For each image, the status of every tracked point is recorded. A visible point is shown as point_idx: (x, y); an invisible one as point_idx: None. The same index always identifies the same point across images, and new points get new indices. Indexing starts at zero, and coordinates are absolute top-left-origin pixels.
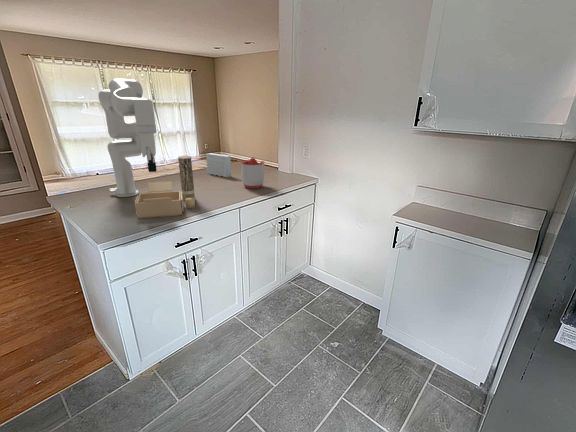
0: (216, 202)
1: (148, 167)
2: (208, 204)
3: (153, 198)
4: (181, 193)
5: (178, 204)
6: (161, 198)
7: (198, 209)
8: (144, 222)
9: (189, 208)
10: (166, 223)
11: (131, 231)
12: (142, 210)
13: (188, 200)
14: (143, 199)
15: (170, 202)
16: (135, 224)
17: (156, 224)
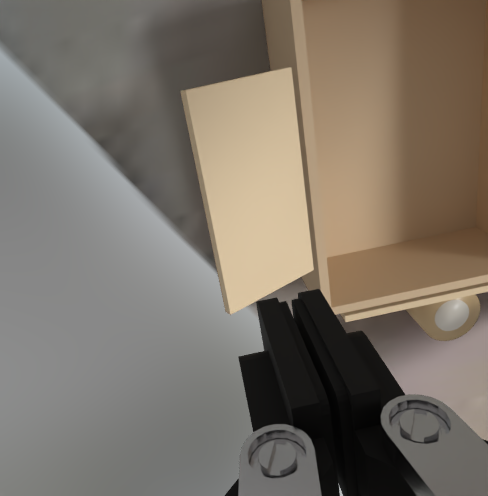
0: (464, 400)
1: (271, 350)
2: (443, 368)
3: (204, 186)
4: (484, 289)
5: (312, 287)
6: (214, 248)
7: (372, 334)
8: (190, 62)
9: None
10: (165, 209)
11: (28, 14)
12: (278, 32)
13: (422, 312)
14: (184, 99)
15: (312, 249)
16: (155, 5)
17: (151, 152)
